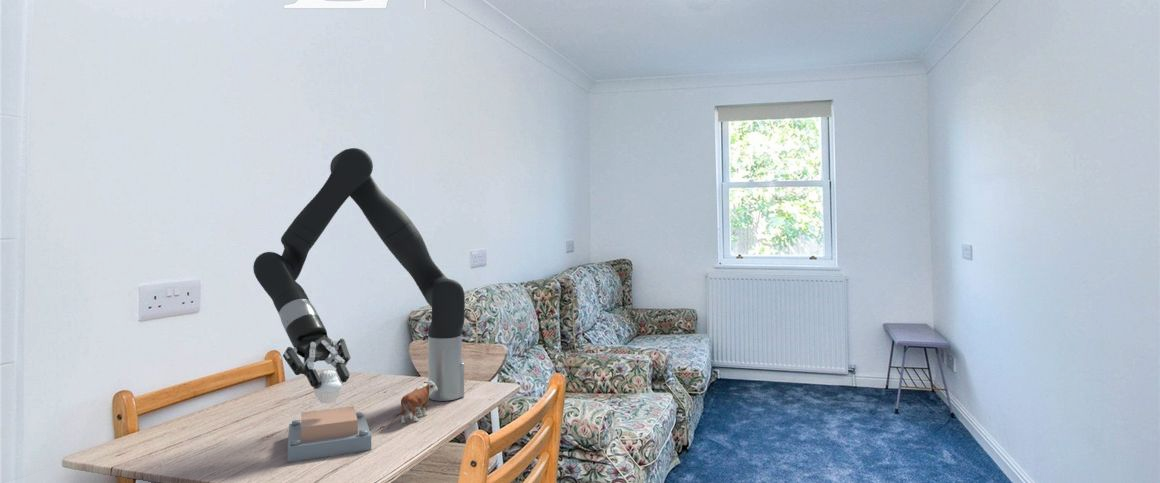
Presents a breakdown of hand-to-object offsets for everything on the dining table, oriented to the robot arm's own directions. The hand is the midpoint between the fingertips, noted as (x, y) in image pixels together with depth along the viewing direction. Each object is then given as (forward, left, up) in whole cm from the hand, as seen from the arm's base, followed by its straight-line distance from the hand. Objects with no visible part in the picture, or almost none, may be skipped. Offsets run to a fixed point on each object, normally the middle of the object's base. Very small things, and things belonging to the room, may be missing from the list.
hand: (332, 383), depth 128 cm
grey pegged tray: (+1, -1, -14) cm, 14 cm away
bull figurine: (-20, -11, -14) cm, 27 cm away
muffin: (+1, -1, -4) cm, 5 cm away
